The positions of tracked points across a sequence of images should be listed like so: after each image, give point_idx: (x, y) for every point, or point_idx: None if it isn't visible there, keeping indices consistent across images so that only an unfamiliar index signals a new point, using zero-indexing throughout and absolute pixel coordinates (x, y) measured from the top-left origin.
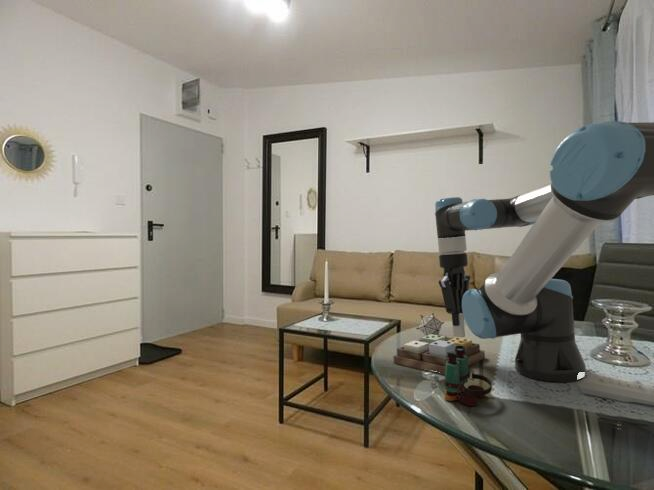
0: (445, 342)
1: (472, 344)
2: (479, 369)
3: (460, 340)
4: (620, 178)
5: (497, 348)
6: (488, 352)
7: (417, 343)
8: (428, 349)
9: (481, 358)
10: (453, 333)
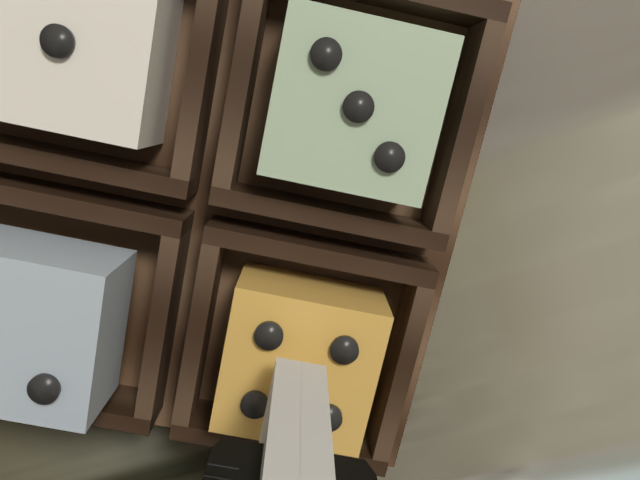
0: (47, 359)
1: (378, 426)
2: (163, 464)
3: None
4: None
5: (620, 454)
6: (513, 427)
7: (53, 58)
8: (74, 172)
9: None
10: (276, 369)
